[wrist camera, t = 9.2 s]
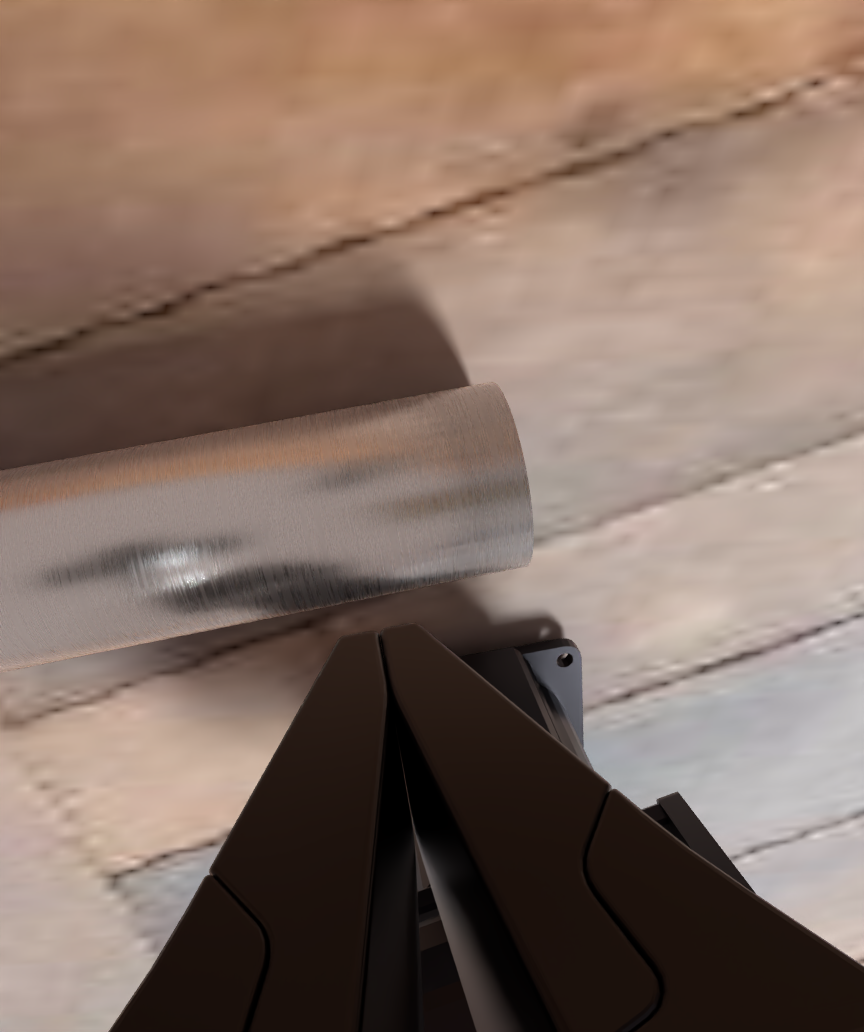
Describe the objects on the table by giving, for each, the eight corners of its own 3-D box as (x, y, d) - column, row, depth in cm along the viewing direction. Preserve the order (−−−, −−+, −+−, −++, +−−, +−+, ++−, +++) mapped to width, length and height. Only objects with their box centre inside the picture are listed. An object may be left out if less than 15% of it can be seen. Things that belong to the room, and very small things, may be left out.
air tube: (500, 351, 17) (546, 560, 16) (476, 410, 21) (511, 575, 21) (-638, 553, 15) (-632, 797, 14) (-403, 570, 19) (-390, 757, 19)
